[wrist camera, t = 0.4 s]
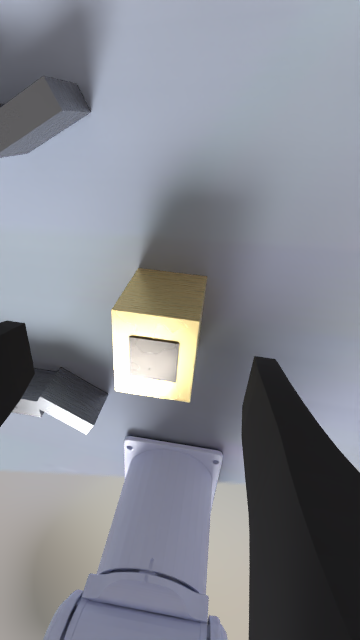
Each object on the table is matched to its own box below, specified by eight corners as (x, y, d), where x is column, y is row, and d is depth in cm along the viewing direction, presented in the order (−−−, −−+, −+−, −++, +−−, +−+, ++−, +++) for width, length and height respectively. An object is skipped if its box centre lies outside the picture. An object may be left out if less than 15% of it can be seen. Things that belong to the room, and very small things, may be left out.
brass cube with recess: (198, 346, 21) (189, 403, 17) (138, 338, 22) (114, 392, 17) (207, 275, 19) (199, 322, 14) (138, 267, 19) (110, 311, 15)
